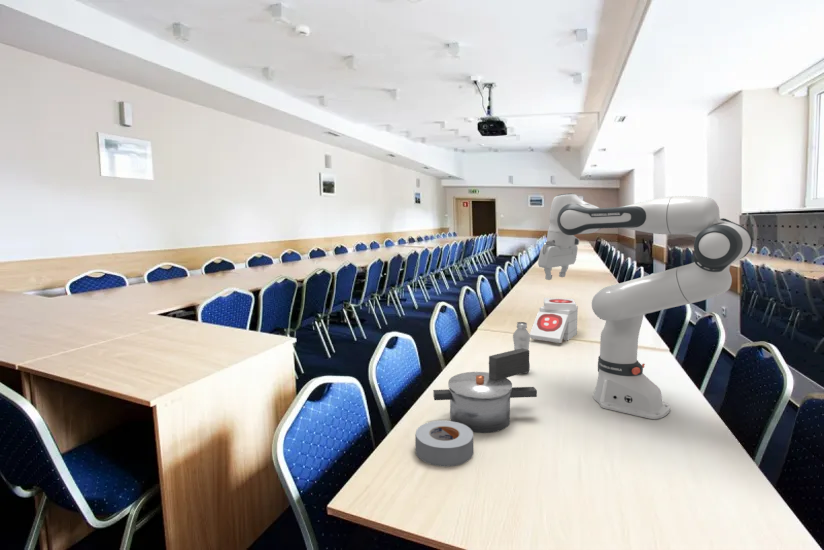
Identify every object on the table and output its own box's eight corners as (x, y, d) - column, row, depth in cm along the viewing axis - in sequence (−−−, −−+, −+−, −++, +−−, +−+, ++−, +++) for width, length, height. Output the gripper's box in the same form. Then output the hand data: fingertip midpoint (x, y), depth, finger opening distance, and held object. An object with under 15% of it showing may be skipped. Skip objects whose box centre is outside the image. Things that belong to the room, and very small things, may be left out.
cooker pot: (437, 434, 123) (436, 401, 122) (431, 407, 141) (431, 377, 140) (544, 430, 125) (545, 397, 123) (525, 404, 142) (526, 374, 141)
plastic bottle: (526, 376, 167) (527, 325, 164) (509, 373, 171) (510, 323, 169) (532, 371, 172) (533, 322, 170) (516, 368, 176) (517, 320, 174)
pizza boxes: (525, 341, 214) (526, 305, 212) (546, 328, 238) (547, 296, 236) (564, 347, 203) (565, 310, 201) (582, 333, 227) (583, 299, 224)
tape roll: (438, 431, 126) (437, 414, 125) (484, 448, 116) (484, 430, 116) (403, 453, 114) (403, 435, 113) (452, 474, 104) (452, 454, 104)
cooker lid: (476, 405, 118) (476, 376, 117) (436, 383, 134) (435, 358, 133) (548, 382, 134) (549, 356, 133) (504, 365, 150) (504, 342, 149)
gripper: (552, 242, 145) (547, 283, 147) (581, 239, 158) (577, 277, 161) (535, 240, 149) (531, 279, 152) (565, 237, 163) (561, 274, 166)
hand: (555, 278), depth 157 cm, fingers open, 8 cm apart
